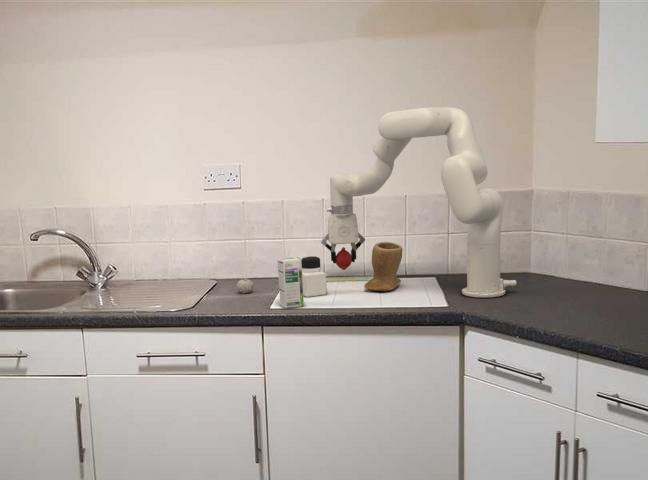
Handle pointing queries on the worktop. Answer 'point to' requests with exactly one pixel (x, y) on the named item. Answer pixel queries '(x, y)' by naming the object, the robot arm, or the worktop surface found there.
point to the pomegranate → (343, 259)
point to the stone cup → (385, 266)
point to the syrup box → (290, 282)
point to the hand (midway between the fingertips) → (343, 261)
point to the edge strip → (349, 278)
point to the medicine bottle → (313, 277)
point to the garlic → (245, 286)
